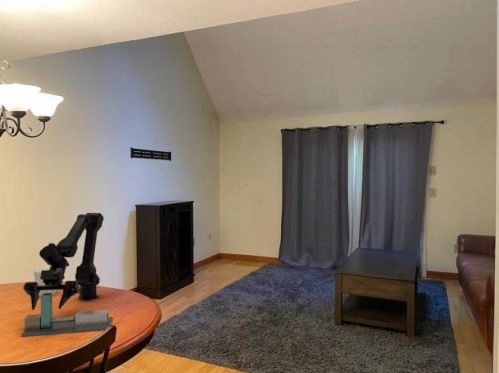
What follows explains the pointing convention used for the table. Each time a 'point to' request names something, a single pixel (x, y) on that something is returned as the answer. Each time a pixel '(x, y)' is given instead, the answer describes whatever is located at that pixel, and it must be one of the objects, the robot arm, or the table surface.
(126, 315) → the table surface
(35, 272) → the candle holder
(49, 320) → the sliding bolt with handle
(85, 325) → the sleeve and socket
